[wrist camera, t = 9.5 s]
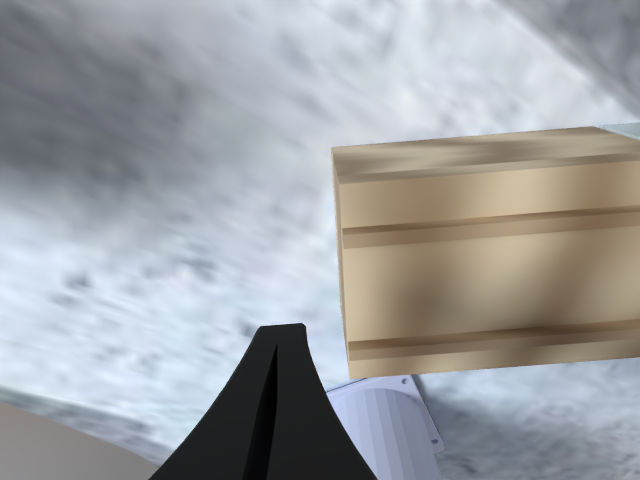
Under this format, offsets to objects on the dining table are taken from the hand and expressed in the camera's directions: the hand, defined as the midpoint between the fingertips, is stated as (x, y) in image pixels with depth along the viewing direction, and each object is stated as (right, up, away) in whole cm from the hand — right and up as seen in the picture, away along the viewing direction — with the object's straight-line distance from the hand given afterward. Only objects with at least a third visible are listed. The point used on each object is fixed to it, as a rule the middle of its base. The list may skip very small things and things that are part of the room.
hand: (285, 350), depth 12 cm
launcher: (+10, +4, +10) cm, 15 cm away
